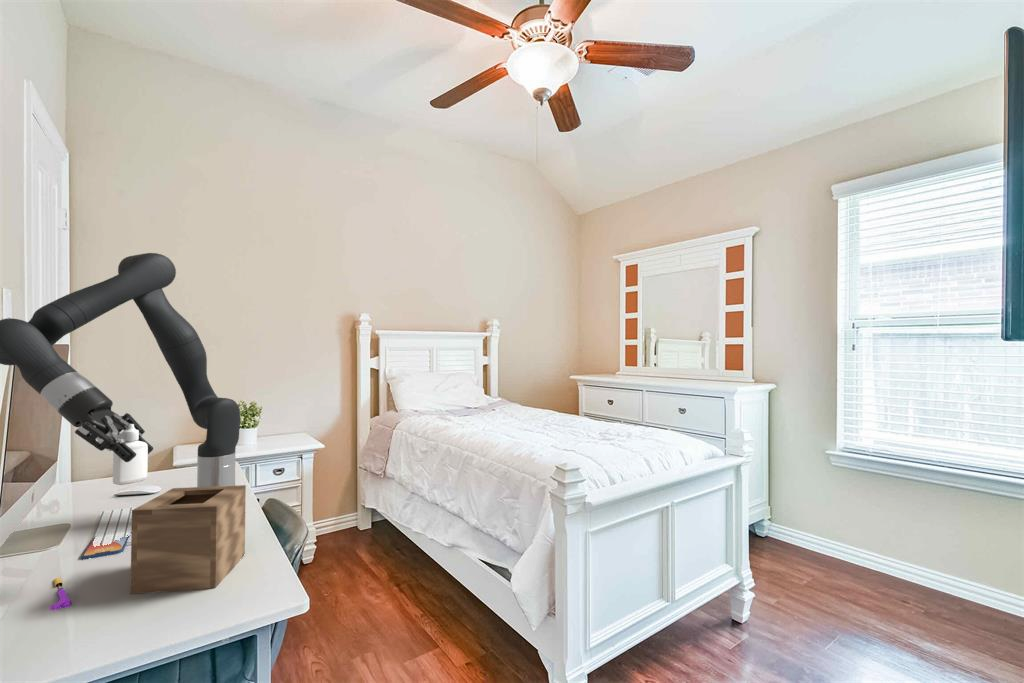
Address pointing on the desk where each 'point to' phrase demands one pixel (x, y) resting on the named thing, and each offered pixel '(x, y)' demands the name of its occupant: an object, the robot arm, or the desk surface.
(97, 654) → the desk surface
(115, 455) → the eye dropper bottle
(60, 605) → the linear piston actuator
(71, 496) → the desk surface
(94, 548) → the smartphone
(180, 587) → the box
